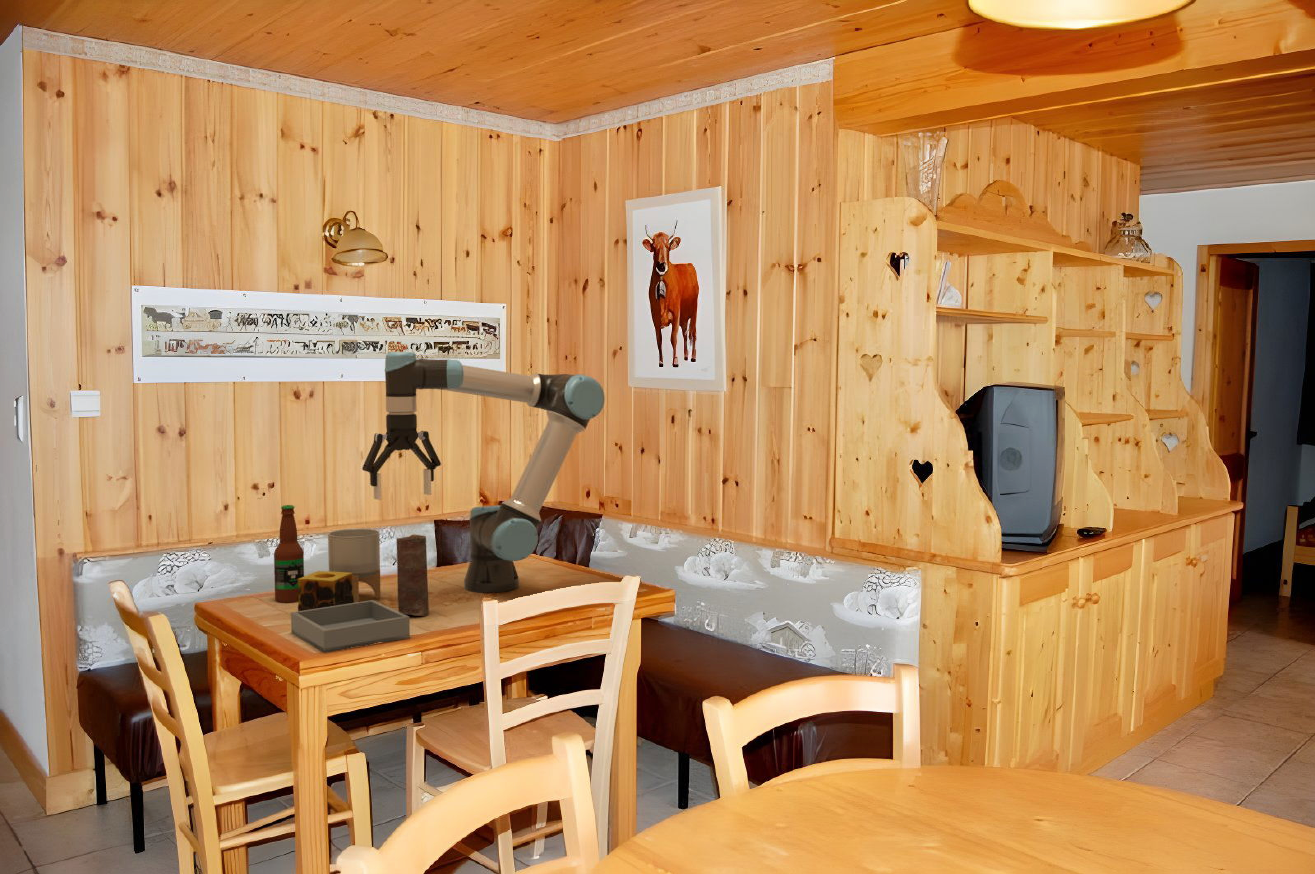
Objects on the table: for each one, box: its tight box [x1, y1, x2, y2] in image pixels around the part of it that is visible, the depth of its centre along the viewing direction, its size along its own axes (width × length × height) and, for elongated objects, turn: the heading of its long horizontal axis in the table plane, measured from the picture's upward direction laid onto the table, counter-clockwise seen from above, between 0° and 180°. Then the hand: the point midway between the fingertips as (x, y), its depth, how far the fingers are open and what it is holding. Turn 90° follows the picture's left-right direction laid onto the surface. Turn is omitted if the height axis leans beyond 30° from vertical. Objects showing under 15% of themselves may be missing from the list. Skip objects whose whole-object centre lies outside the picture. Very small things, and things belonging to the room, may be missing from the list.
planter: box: [327, 527, 382, 603], centre depth 276 cm, size 13×13×18 cm
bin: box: [290, 599, 411, 654], centre depth 241 cm, size 20×20×5 cm
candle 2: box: [396, 533, 430, 617], centre depth 260 cm, size 8×7×20 cm
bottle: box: [273, 504, 305, 604], centre depth 274 cm, size 7×7×25 cm
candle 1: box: [297, 570, 354, 611], centre depth 260 cm, size 10×10×10 cm
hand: (402, 496), depth 266 cm, fingers open, 13 cm apart
